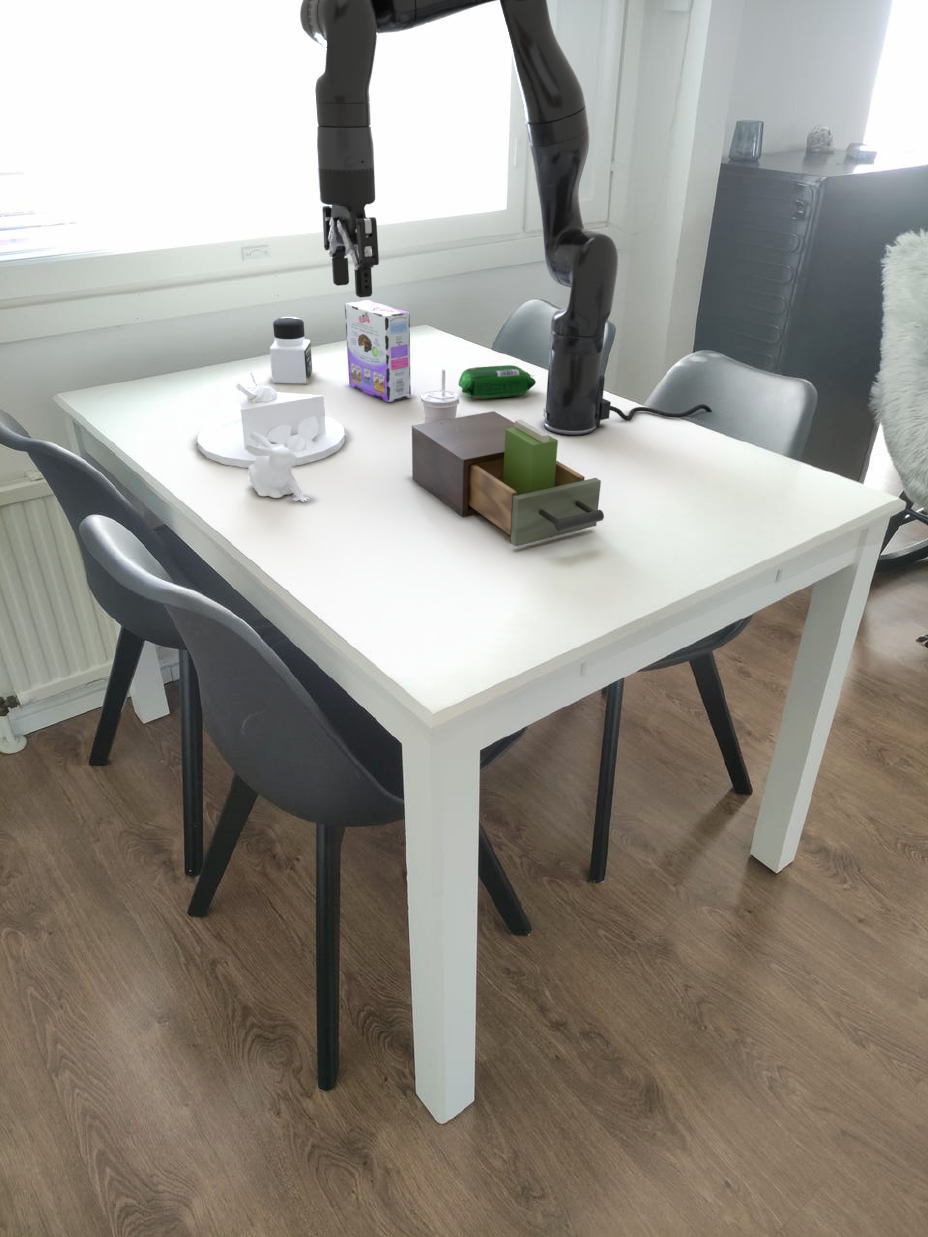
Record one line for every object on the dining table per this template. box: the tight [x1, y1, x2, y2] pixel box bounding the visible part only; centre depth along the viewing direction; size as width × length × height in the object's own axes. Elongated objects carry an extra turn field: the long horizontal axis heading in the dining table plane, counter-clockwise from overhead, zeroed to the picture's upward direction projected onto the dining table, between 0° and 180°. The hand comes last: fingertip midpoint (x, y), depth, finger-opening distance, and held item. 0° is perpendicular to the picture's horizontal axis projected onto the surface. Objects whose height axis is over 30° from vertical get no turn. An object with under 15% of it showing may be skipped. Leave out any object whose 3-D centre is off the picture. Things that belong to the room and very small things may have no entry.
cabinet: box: [411, 410, 515, 518], centre depth 139 cm, size 16×15×9 cm
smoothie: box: [419, 369, 460, 423], centre depth 151 cm, size 6×6×14 cm
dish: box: [197, 368, 346, 469], centre depth 154 cm, size 25×25×11 cm
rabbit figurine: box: [246, 432, 311, 503], centre depth 136 cm, size 12×8×10 cm, turn 35°
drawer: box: [468, 458, 605, 548], centre depth 127 cm, size 20×14×7 cm
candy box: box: [344, 299, 412, 403], centre depth 177 cm, size 14×6×16 cm, turn 40°
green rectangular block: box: [503, 419, 559, 495], centre depth 128 cm, size 7×4×12 cm, turn 30°
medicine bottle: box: [269, 316, 313, 385], centre depth 185 cm, size 7×7×12 cm
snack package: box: [458, 364, 537, 400], centre depth 180 cm, size 7×16×5 cm, turn 104°
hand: (352, 290), depth 130 cm, fingers open, 8 cm apart
